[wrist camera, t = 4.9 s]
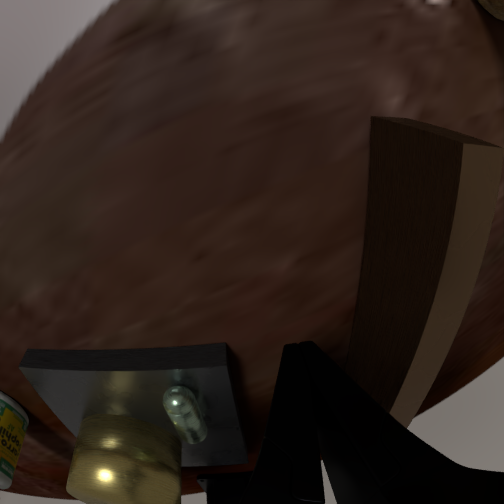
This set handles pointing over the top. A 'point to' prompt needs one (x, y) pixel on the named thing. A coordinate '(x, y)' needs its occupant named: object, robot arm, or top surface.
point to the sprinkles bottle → (494, 7)
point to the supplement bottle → (10, 437)
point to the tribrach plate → (140, 417)
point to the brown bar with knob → (418, 255)
